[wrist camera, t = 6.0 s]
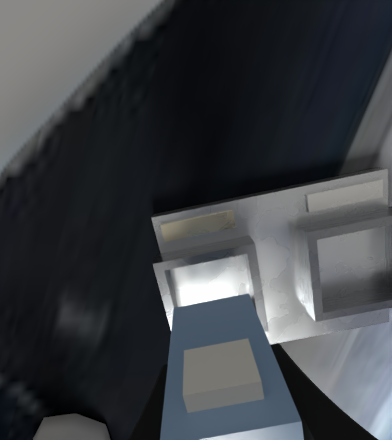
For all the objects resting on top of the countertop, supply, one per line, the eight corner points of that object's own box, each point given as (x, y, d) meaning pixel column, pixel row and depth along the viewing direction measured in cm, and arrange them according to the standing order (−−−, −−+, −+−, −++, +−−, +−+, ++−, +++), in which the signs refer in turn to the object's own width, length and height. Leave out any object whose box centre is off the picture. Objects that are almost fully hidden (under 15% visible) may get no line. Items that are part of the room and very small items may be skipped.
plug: (246, 281, 13) (299, 402, 7) (259, 355, 14) (313, 515, 8) (170, 296, 13) (152, 428, 7) (189, 368, 14) (189, 535, 8)
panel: (382, 166, 18) (413, 169, 15) (384, 313, 21) (410, 335, 18) (148, 215, 18) (141, 225, 16) (184, 351, 21) (183, 377, 19)
